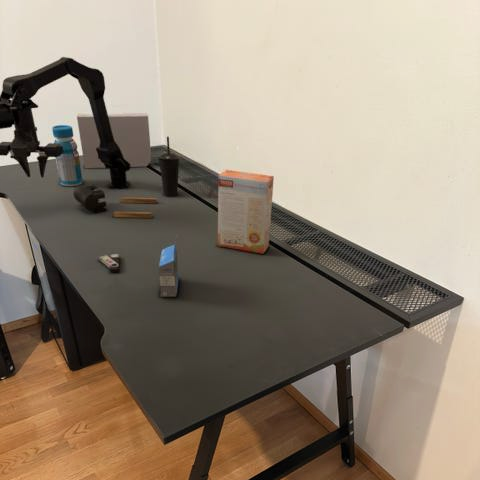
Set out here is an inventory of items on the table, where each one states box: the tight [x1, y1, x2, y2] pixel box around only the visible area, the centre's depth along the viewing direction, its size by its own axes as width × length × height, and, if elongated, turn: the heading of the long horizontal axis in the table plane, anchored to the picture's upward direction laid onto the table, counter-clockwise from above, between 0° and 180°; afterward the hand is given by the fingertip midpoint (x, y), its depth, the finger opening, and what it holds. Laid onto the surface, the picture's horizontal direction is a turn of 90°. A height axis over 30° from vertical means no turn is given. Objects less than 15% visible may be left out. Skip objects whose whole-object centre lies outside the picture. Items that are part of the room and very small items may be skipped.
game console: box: [76, 112, 152, 169], centre depth 186 cm, size 6×27×20 cm, turn 104°
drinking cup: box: [157, 136, 181, 198], centre depth 160 cm, size 8×8×20 cm
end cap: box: [73, 184, 107, 214], centre depth 150 cm, size 10×7×7 cm
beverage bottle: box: [51, 124, 84, 187], centre depth 165 cm, size 8×8×20 cm
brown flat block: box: [113, 196, 158, 219], centre depth 152 cm, size 14×12×2 cm
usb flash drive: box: [98, 253, 120, 273], centre depth 120 cm, size 9×5×1 cm, turn 12°
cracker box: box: [217, 169, 274, 255], centre depth 126 cm, size 14×6×21 cm, turn 71°
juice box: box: [158, 234, 179, 298], centre depth 108 cm, size 9×4×12 cm, turn 3°
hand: (35, 177), depth 145 cm, fingers open, 4 cm apart
